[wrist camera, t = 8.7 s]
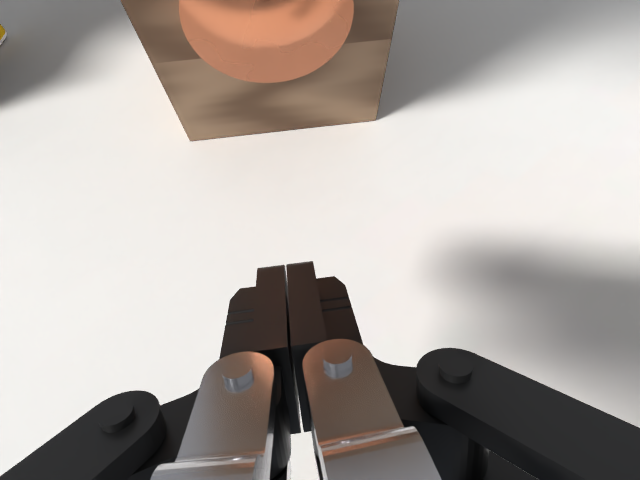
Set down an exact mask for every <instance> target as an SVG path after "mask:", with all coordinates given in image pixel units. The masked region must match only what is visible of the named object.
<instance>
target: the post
mask: <svg viewBox="0 0 640 480" xmlns="http://www.w3.org/2000/svg"><path fill="white" fill-rule="evenodd" d="M121 2H122V5H123V7H124V9H125V11H126V13H127V15H128V17H129V19H130V21H131V23H132V25H133V27H134V29H135V31H136V33H137V35H138V37H139V39H140V41H141V43H142V45H143V47H144V49H145V51H146V53H147V55H148V57H149V59H150V61H151V63H152V65H153V67H154V69H155V71H156V73H157V75H158V77H159V79H160V81H161V83H162V85H163V87H164V89H165V91H166V93H167V95H168V97H169V99H170V101H171V103H172V105H173V107H174V109H175V111H176V113H177V115H178V118H179V120H180V122H181V124H182V126H183V128H184V130H185V132H186V134H187V136H188V138H189V140H190V141H196V140H204V139H213V138H222V137H231V136H240V135H249V134H258V133H267V132H276V131H285V130H294V129H303V128H312V127H321V126H330V125H338V124H347V123H356V122H365V121H374V120H376V116H377V111H378V106H379V101H380V96H381V91H382V86H383V80H384V75H385V70H386V65H387V60H388V55H389V50H390V45H391V40H392V34H393V29H394V24H395V19H396V14H397V9H398V4H399V0H353V2H354V14H353V21H352V25H351V28H350V31H349V34H348V36H347V38H346V40H345V42H344V43H343V45H342V46H341V48H340V49H339V50H338V52H337V53H336V54H335V55H334V56H333V57H332V58H331V59H330V60H329V61H328V62H326V63H325V64H324V65H322V66H321V67H320V68H318V69H316V70H315V71H313V72H311V73H309V74H307V75H305V76H302V77H299V78H296V79H293V80H289V81H283V82H277V83H257V82H249V81H244V80H240V79H237V78H234V77H231V76H228V75H226V74H224V73H222V72H220V71H218V70H217V69H215V68H213V67H212V66H210V65H209V64H208V63H206V62H205V61H204V60H203V59H202V58H201V57H200V56H199V55H198V54H197V53H196V52H195V51H194V49H193V48H192V47H191V45H190V43H189V42H188V40H187V38H186V36H185V34H184V32H183V29H182V26H181V22H180V15H179V0H121Z"/></svg>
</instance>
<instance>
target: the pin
mask: <svg viewBox="0 0 640 480" xmlns="http://www.w3.org/2000/svg"><path fill="white" fill-rule="evenodd" d="M353 14H354V2H353V0H179V15H180V22H181V26H182V29H183V32H184V34H185V36H186V38H187V40H188V42H189V43H190V45H191V47H192V48H193V49H194V51H195V52H196V53H197V54H198V55H199V56H200V57H201V58H202V59H203V60H204V61H205V62H206V63H208V64H209V65H210V66H212V67H213V68H215V69H217V70H218V71H220V72H222V73H224V74H226V75H228V76H231V77H234V78H237V79H240V80H244V81H249V82H257V83H277V82H283V81H289V80H293V79H296V78H299V77H302V76H305V75H307V74H309V73H311V72H313V71H315V70H316V69H318V68H320V67H321V66H322V65H324V64H325V63H326V62H328V61H329V60H330V59H331V58H332V57H333V56H334V55H335V54H336V53H337V52H338V50H339V49H340V48H341V46H342V45H343V43H344V42H345V40H346V38H347V36H348V34H349V31H350V28H351V25H352V21H353Z"/></svg>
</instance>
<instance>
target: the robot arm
mask: <svg viewBox="0 0 640 480" xmlns="http://www.w3.org/2000/svg"><path fill="white" fill-rule="evenodd" d="M287 283H288V285H287ZM298 396H299V399H298ZM299 403H300V410H301V416H302V423H303V430H304V432H308V431H311V432H312V439H313V446H314V453H315V460H316V467H317V472H318V478H319V480H640V428H638V427H636V426H634V425H632V424H630V423H627V422H625V421H623V420H621V419H618V418H616V417H614V416H612V415H610V414H607V413H605V412H603V411H601V410H599V409H596V408H594V407H592V406H590V405H587V404H585V403H583V402H581V401H579V400H576V399H574V398H572V397H570V396H568V395H565V394H563V393H561V392H559V391H556V390H554V389H552V388H550V387H548V386H545V385H543V384H541V383H539V382H537V381H534V380H532V379H530V378H528V377H525V376H523V375H521V374H519V373H517V372H514V371H512V370H510V369H508V368H506V367H503V366H501V365H499V364H497V363H494V362H492V361H490V360H488V359H486V358H483V357H481V356H479V355H477V354H475V353H472V352H469V351H466V350H462V349H456V348H442V349H437V350H434V351H431V352H429V353H427V354H425V355H424V356H423V357H422V358H421V359H420V360H419V362H418V364H417V368H416V367H405V366H397V365H391V364H387V363H384V362H382V361H380V360H378V359H376V358H374V357H373V356H372V354H371V352H370V351H369V350H368V349H367V348H366V347H365V346H364V345H363V343H362V339H361V336H360V333H359V329H358V326H357V323H356V319H355V316H354V313H353V310H352V307H351V303H350V300H349V297H348V293H347V290H346V287H345V285H344V284H343V283H342V282H341V281H339V280H338V279H337V278H336V277H335V276H333V277H325V278H318V279H316V276H315V270H314V265H313V261H310V262H302V263H294V264H287V278H286V271H285V266H284V265H279V266H272V267H264V268H258V269H257V280H256V287H249V288H241V289H239V290H238V291H237V293H236V294H235V295H234V296H233V297H232V298H231V300H230V303H229V309H228V315H227V320H226V325H225V331H224V337H223V342H222V348H221V353H220V359H219V360H218V361H216V362H215V363H214V364H213V365H211V366H210V367H209V368H208V370H207V371H206V373H205V374H204V376H203V379H202V382H201V385H200V388H199V389H198V390H196V391H194V392H193V393H191V394H189V395H186V396H184V397H181V398H179V399H176V400H174V401H171V402H168V403H166V404H163V405H160V404H159V402H158V399H157V398H156V397H155V396H154V395H153V394H151V393H149V392H146V391H128V392H124V393H120V394H117V395H115V396H112V397H110V398H108V399H106V400H104V401H103V402H101V403H100V404H98V405H97V406H95V407H94V408H92V409H91V410H90V411H88V412H87V413H86V414H84V415H83V416H82V417H80V418H79V419H78V420H76V421H75V422H73V423H72V424H71V425H69V426H68V427H67V428H65V429H64V430H63V431H61V432H60V433H59V434H57V435H56V436H54V437H53V438H52V439H50V440H49V441H48V442H46V443H45V444H44V445H42V446H41V447H40V448H38V449H37V450H35V451H34V452H33V453H31V454H30V455H29V456H27V457H26V458H25V459H23V460H22V461H21V462H19V463H18V464H16V465H15V466H14V467H12V468H11V469H10V470H8V471H7V472H6V473H4V474H3V475H2V476H0V480H291V464H290V455H291V438H290V434H296V433H301V428H300V414H299ZM493 452H494V453H493ZM498 455H499V456H498ZM503 458H504V459H503ZM508 461H509V462H508ZM513 464H514V465H513ZM518 467H519V468H518ZM523 470H524V471H523ZM528 473H529V474H528ZM531 475H532V476H531ZM536 478H537V479H536Z"/></svg>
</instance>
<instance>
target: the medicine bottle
mask: <svg viewBox="0 0 640 480" xmlns="http://www.w3.org/2000/svg"><path fill="white" fill-rule="evenodd" d="M6 35H7V33H6V31H5V29H4V28H3V27H2V26H1V24H0V45H1V44H2V42H3V41H4V40H5V38H6Z"/></svg>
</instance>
